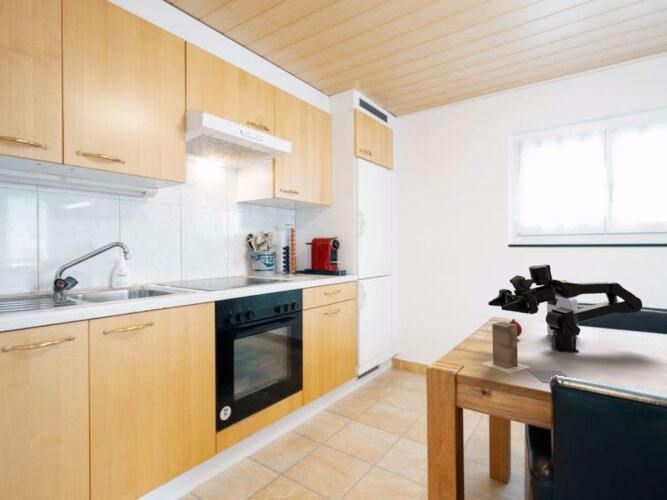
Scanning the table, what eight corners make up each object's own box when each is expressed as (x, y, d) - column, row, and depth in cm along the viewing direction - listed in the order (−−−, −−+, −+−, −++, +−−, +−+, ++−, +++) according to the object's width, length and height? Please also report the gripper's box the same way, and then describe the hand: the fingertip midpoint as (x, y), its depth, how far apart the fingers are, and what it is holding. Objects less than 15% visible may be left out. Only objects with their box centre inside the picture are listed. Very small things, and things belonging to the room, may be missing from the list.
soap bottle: (579, 336, 139) (578, 280, 139) (571, 339, 135) (570, 281, 135) (554, 332, 147) (553, 279, 147) (547, 335, 143) (546, 280, 143)
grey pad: (560, 372, 102) (560, 370, 102) (578, 384, 93) (578, 383, 93) (528, 371, 103) (528, 370, 103) (542, 384, 94) (542, 382, 94)
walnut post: (503, 361, 111) (502, 321, 111) (517, 365, 107) (516, 324, 107) (493, 364, 109) (492, 323, 109) (507, 369, 105) (506, 326, 105)
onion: (524, 340, 135) (523, 320, 135) (508, 340, 137) (508, 320, 136) (519, 336, 141) (518, 317, 141) (504, 336, 142) (503, 317, 142)
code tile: (501, 359, 115) (501, 357, 115) (530, 368, 106) (530, 366, 106) (481, 364, 110) (481, 363, 110) (509, 374, 101) (509, 373, 101)
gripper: (516, 272, 132) (477, 281, 131) (548, 276, 113) (503, 287, 113) (522, 299, 132) (484, 309, 132) (556, 308, 114) (511, 320, 113)
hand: (494, 306), depth 122 cm, fingers open, 9 cm apart
